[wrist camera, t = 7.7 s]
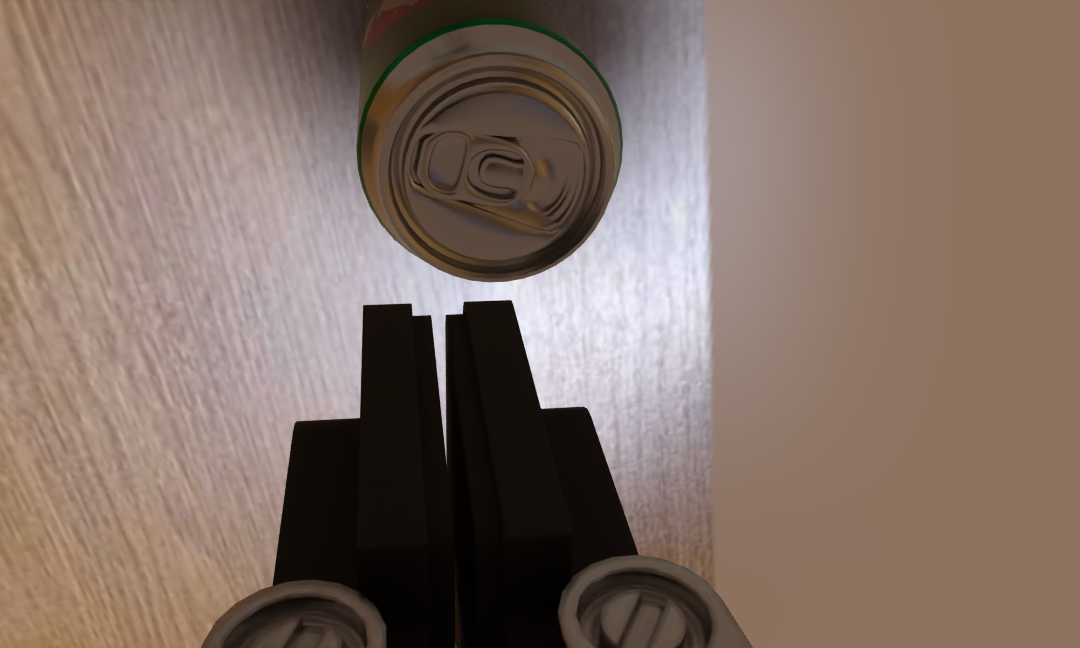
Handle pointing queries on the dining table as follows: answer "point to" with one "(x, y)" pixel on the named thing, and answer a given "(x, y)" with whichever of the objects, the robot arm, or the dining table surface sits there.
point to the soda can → (483, 135)
